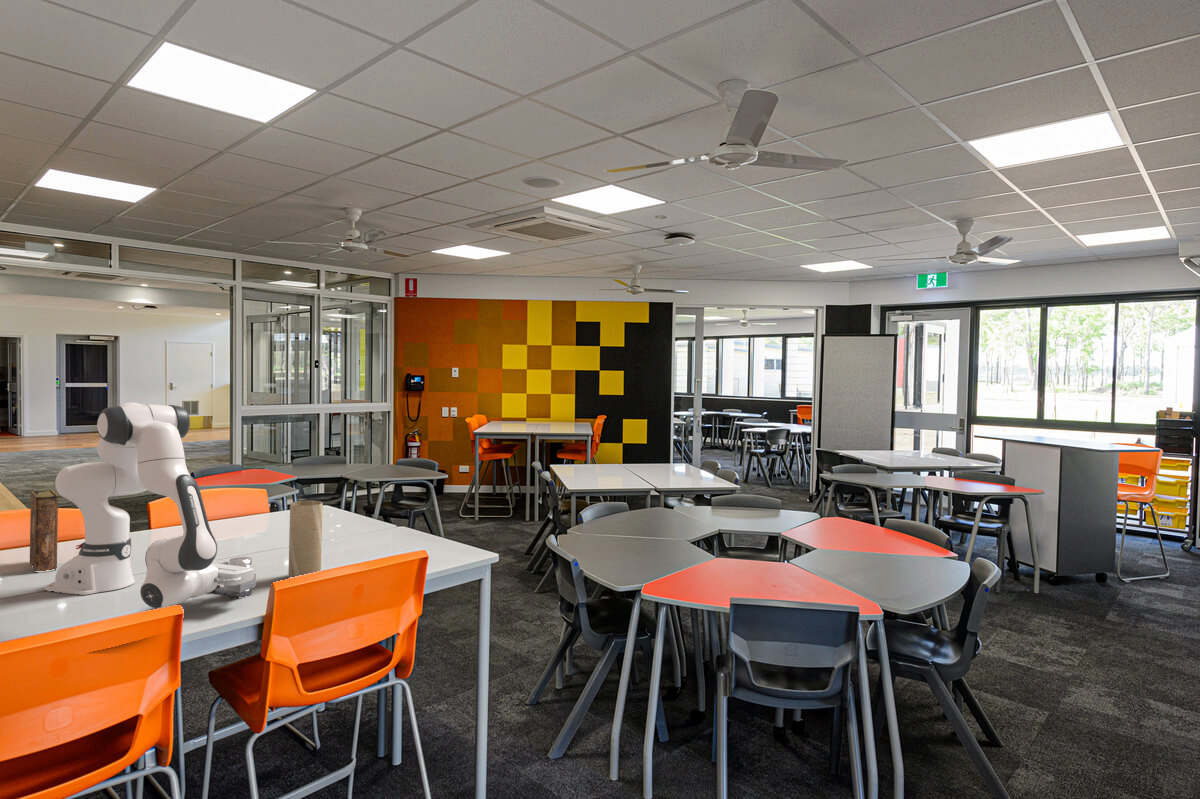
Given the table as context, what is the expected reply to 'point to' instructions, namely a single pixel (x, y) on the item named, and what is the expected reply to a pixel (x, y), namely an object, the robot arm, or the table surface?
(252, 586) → the grey block with cylinder
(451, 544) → the table surface
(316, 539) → the tube
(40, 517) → the book
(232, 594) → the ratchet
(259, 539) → the table surface
